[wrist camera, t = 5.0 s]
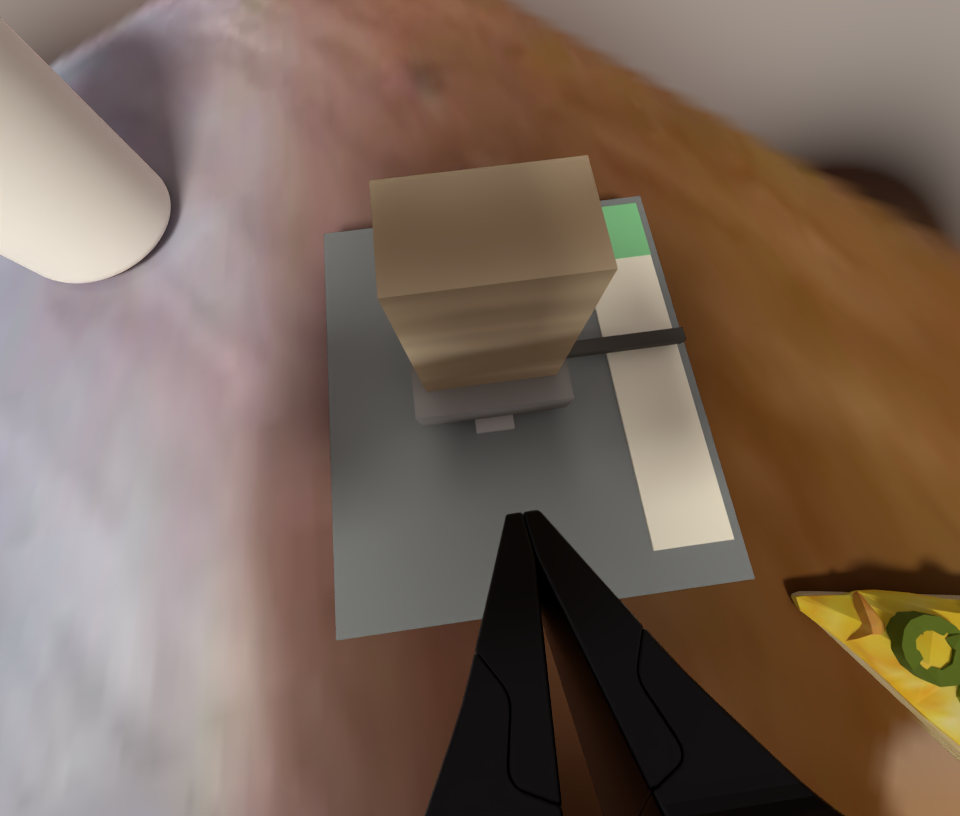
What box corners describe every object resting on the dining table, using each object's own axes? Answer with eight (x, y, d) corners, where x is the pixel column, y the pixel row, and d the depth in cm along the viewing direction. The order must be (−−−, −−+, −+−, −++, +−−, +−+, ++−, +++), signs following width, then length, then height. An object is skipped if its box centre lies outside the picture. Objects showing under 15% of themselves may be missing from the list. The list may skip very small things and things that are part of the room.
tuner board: (721, 569, 16) (760, 580, 13) (354, 622, 15) (332, 643, 13) (624, 225, 20) (642, 190, 18) (339, 259, 20) (321, 229, 18)
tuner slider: (695, 391, 15) (921, 274, 7) (422, 427, 15) (355, 346, 7) (664, 287, 16) (830, 93, 9) (412, 319, 16) (345, 148, 8)
